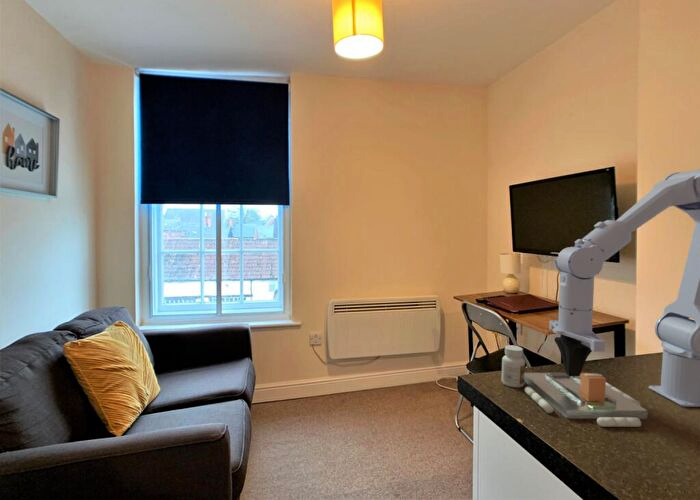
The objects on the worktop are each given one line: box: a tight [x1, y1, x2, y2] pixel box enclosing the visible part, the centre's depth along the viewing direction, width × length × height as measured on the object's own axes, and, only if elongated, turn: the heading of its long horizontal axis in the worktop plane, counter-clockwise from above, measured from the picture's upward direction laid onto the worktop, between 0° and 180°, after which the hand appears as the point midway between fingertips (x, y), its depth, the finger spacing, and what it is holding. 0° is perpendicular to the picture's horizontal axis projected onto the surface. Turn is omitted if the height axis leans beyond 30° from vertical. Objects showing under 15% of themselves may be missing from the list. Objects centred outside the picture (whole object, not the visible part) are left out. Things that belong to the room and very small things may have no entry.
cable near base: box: [606, 381, 642, 407], centre depth 71 cm, size 1×10×1 cm, turn 0°
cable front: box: [524, 386, 555, 414], centre depth 69 cm, size 1×8×1 cm, turn 0°
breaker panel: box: [524, 371, 648, 420], centre depth 71 cm, size 14×16×2 cm
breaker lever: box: [580, 372, 607, 401], centre depth 66 cm, size 3×2×4 cm
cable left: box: [596, 417, 642, 428], centre depth 60 cm, size 7×1×1 cm, turn 90°
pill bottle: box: [500, 344, 526, 388], centre depth 76 cm, size 4×4×8 cm
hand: (572, 374), depth 72 cm, fingers closed
